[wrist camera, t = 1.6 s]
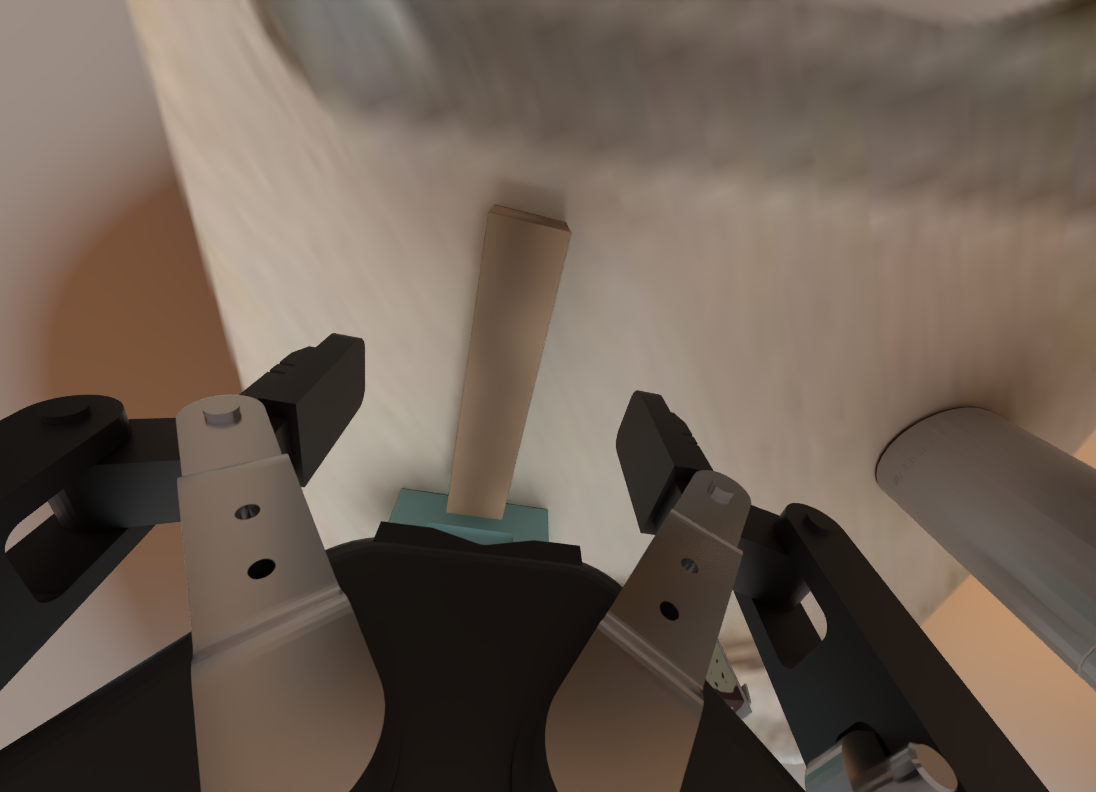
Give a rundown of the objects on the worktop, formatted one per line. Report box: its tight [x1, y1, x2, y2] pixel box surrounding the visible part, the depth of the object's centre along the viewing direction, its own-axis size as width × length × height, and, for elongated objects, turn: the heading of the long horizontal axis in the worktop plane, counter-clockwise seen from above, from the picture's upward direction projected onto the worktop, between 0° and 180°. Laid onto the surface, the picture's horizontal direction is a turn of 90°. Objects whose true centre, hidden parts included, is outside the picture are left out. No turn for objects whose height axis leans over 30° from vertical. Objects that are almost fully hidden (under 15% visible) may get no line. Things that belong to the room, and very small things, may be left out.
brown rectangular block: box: [446, 205, 571, 520], centre depth 25 cm, size 4×20×4 cm, turn 167°
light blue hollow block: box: [388, 489, 549, 545], centre depth 28 cm, size 12×5×13 cm, turn 77°
